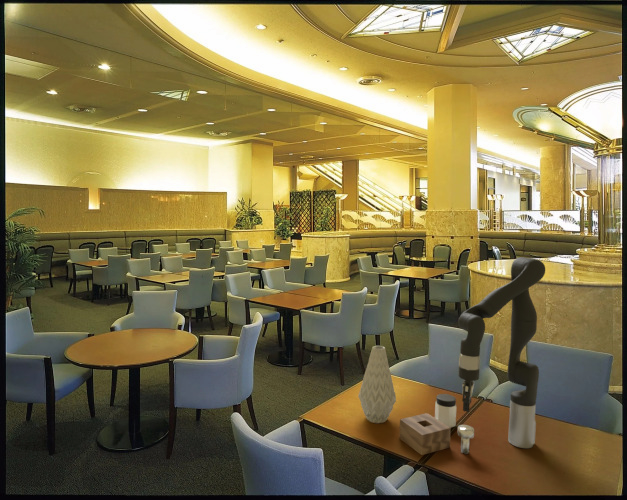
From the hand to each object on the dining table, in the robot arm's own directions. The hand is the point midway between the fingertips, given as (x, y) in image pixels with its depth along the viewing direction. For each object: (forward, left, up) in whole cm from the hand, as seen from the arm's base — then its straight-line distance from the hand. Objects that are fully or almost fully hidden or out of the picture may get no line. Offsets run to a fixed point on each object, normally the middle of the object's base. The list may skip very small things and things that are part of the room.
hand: (467, 406), depth 170 cm
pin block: (+10, -12, -18) cm, 24 cm away
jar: (-9, -21, -18) cm, 29 cm away
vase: (+16, -37, -18) cm, 44 cm away
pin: (0, 0, -18) cm, 18 cm away
